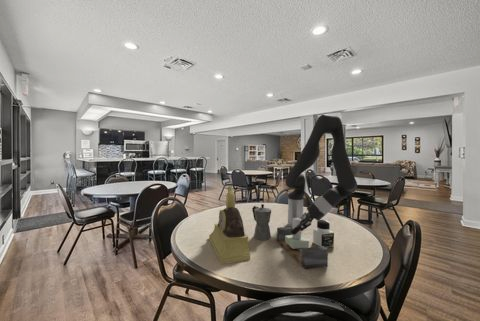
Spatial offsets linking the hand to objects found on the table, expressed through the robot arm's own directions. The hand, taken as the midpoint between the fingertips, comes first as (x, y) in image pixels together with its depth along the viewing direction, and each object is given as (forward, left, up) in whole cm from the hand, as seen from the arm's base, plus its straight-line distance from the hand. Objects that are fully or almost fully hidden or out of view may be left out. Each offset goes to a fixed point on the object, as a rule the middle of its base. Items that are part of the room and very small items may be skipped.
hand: (292, 231), depth 102 cm
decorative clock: (-8, -30, -9) cm, 32 cm away
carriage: (+1, +2, -6) cm, 6 cm away
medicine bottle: (-2, +18, -9) cm, 20 cm away
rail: (+3, +2, -9) cm, 9 cm away
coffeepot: (-19, -9, -9) cm, 23 cm away
